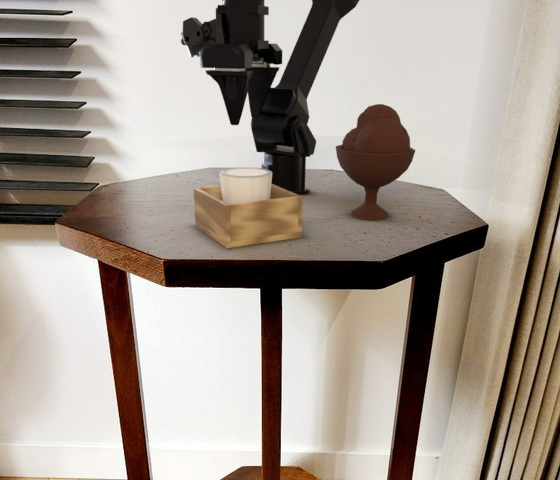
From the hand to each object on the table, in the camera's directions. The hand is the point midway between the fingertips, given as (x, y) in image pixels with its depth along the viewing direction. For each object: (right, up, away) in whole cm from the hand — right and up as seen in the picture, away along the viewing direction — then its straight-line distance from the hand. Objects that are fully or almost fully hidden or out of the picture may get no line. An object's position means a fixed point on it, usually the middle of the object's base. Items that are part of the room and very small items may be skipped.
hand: (245, 121), depth 89 cm
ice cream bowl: (+18, -14, 0) cm, 23 cm away
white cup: (+1, -18, -8) cm, 20 cm away
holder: (+1, -18, -8) cm, 20 cm away
